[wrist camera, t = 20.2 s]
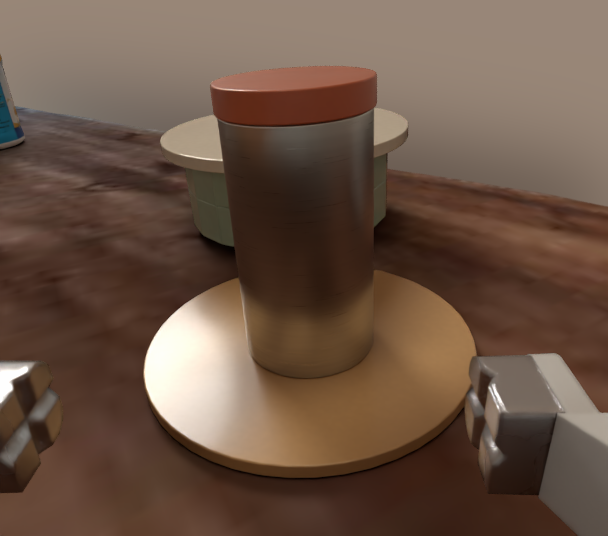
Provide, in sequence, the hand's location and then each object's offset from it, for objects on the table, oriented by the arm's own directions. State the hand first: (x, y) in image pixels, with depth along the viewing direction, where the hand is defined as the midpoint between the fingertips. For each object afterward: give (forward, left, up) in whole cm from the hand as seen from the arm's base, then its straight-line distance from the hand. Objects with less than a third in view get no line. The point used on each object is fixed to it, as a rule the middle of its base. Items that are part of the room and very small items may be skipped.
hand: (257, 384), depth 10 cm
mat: (-5, +11, -8) cm, 14 cm away
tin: (-5, +11, -7) cm, 14 cm away
